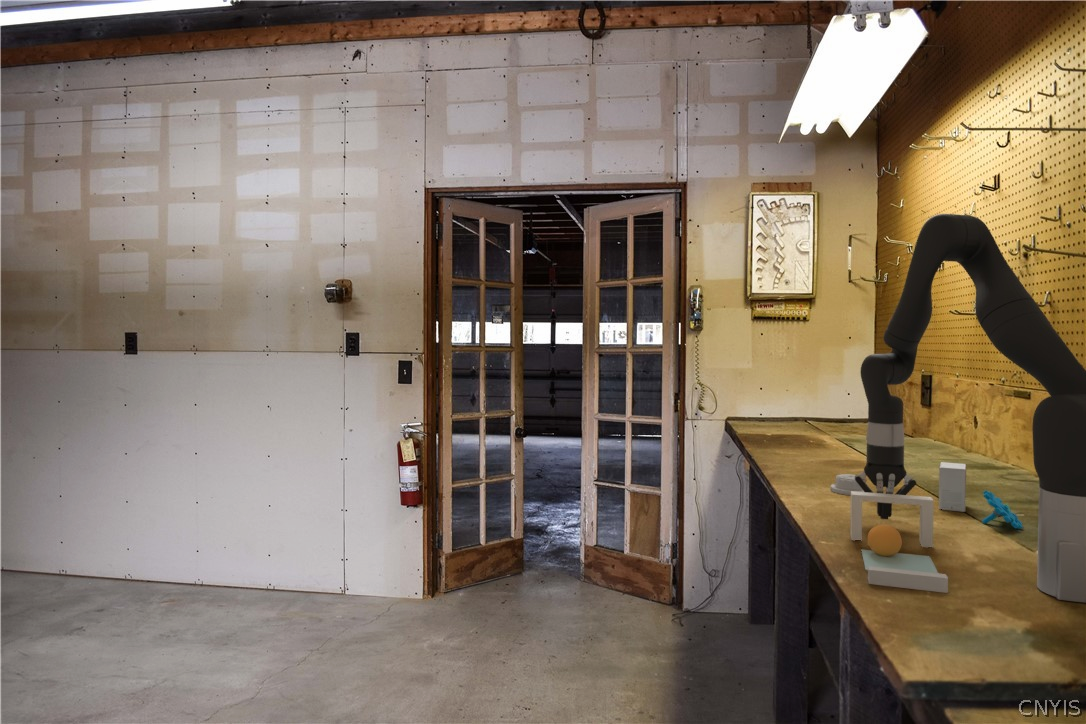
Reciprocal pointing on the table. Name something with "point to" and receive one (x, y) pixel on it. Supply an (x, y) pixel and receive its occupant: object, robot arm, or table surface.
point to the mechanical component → (846, 484)
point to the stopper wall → (908, 579)
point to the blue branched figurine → (1000, 511)
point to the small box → (952, 486)
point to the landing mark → (899, 561)
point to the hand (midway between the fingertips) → (884, 518)
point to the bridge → (923, 501)
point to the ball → (884, 540)
